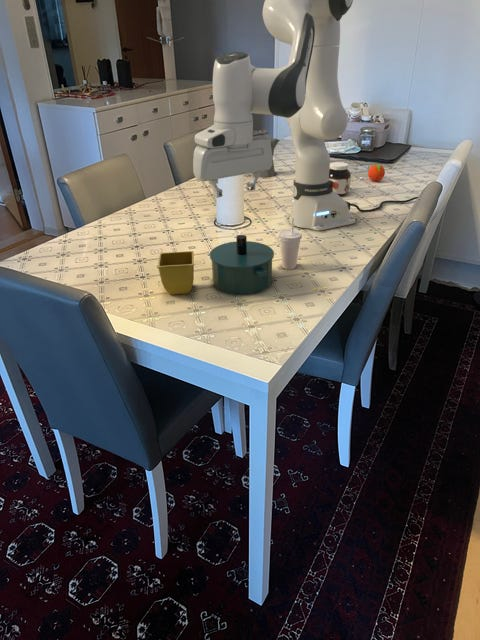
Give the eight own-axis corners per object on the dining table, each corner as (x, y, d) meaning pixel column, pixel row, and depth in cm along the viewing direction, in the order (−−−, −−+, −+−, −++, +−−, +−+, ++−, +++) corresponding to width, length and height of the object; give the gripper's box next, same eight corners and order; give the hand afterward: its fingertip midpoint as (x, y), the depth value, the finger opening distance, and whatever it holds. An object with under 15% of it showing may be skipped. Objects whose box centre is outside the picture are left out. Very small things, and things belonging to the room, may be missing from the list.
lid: (252, 240, 137) (252, 221, 134) (286, 261, 125) (287, 240, 122) (199, 253, 130) (197, 233, 127) (229, 276, 118) (228, 255, 115)
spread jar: (336, 199, 189) (338, 168, 183) (313, 192, 197) (315, 163, 191) (355, 192, 196) (358, 162, 190) (333, 186, 204) (335, 158, 197)
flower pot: (163, 283, 131) (159, 252, 126) (196, 281, 131) (193, 250, 127) (161, 299, 123) (157, 266, 119) (196, 297, 124) (193, 264, 119)
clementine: (386, 184, 205) (388, 166, 202) (369, 184, 205) (371, 167, 202) (381, 178, 212) (383, 162, 208) (365, 179, 212) (367, 162, 209)
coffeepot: (276, 170, 228) (276, 129, 218) (282, 175, 220) (282, 133, 210) (243, 173, 225) (243, 132, 216) (248, 178, 217) (248, 136, 208)
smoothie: (299, 271, 135) (301, 223, 128) (276, 270, 136) (277, 222, 129) (301, 262, 140) (303, 215, 133) (279, 260, 141) (280, 214, 134)
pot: (247, 260, 142) (247, 236, 138) (289, 289, 126) (289, 262, 122) (199, 273, 135) (197, 248, 132) (236, 305, 120) (235, 277, 116)
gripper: (263, 126, 119) (262, 183, 126) (188, 136, 110) (192, 197, 117) (278, 130, 114) (277, 189, 122) (201, 141, 105) (204, 204, 112)
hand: (234, 193), depth 119 cm, fingers open, 8 cm apart
